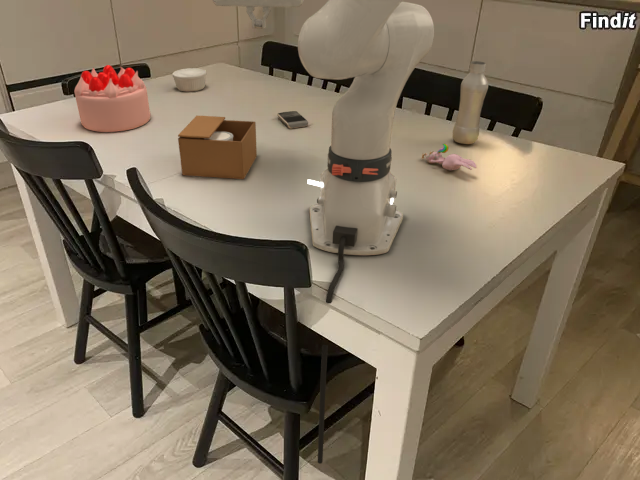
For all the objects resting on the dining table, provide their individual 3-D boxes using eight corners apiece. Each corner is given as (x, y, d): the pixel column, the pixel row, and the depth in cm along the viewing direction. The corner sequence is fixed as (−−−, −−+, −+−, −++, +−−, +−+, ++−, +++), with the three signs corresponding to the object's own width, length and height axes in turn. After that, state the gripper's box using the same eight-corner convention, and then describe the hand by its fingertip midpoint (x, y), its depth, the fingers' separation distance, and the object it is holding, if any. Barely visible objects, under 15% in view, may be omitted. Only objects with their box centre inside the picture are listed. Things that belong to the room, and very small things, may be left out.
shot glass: (240, 161, 136) (239, 134, 132) (223, 171, 132) (221, 143, 128) (218, 156, 139) (216, 128, 136) (200, 165, 135) (197, 137, 131)
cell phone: (296, 115, 166) (296, 110, 165) (309, 127, 158) (309, 122, 157) (276, 117, 165) (276, 112, 164) (288, 129, 156) (288, 124, 155)
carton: (243, 179, 129) (241, 142, 124) (182, 175, 131) (177, 138, 126) (256, 156, 140) (255, 121, 135) (200, 153, 142) (196, 118, 137)
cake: (161, 123, 161) (154, 72, 153) (93, 138, 152) (82, 85, 144) (135, 106, 175) (128, 58, 167) (71, 119, 165) (60, 69, 157)
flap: (209, 138, 125) (209, 136, 125) (178, 136, 126) (177, 135, 126) (225, 118, 136) (225, 116, 136) (196, 117, 137) (196, 115, 137)
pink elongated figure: (416, 167, 137) (463, 179, 125) (416, 142, 134) (465, 152, 122) (435, 161, 140) (483, 172, 128) (435, 137, 137) (484, 146, 125)
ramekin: (169, 92, 187) (167, 76, 184) (180, 83, 196) (178, 67, 193) (202, 93, 186) (200, 77, 183) (211, 84, 195) (209, 68, 192)
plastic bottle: (459, 136, 150) (472, 58, 139) (482, 142, 146) (497, 62, 135) (446, 142, 147) (458, 63, 136) (469, 149, 143) (484, 67, 132)
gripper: (306, -43, 121) (306, 26, 129) (215, -43, 124) (219, 24, 132) (302, -40, 116) (302, 31, 123) (207, -41, 119) (212, 29, 126)
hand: (259, 28), depth 128 cm, fingers closed
